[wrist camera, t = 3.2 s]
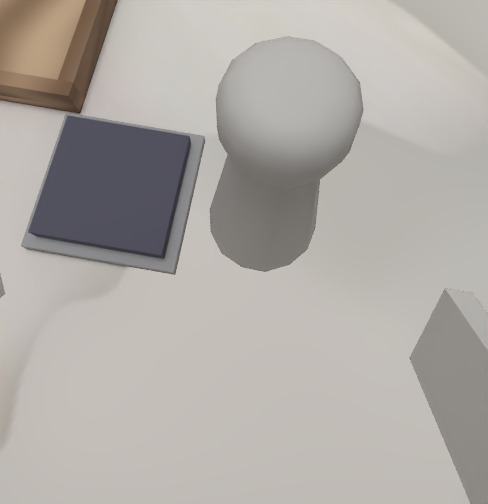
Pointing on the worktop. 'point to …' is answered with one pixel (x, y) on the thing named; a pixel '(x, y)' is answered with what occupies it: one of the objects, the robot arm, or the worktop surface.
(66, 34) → the tray
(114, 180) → the ink pad
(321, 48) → the salt shaker
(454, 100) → the worktop surface
